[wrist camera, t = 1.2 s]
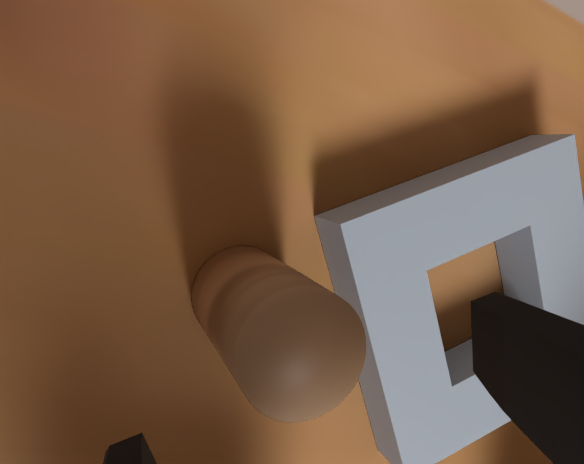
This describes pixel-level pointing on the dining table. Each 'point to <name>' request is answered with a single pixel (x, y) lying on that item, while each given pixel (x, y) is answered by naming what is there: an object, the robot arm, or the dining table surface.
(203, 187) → the dining table surface
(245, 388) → the dowel
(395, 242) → the socket block
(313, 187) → the dining table surface
